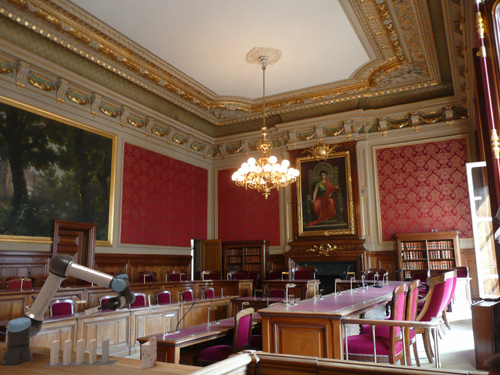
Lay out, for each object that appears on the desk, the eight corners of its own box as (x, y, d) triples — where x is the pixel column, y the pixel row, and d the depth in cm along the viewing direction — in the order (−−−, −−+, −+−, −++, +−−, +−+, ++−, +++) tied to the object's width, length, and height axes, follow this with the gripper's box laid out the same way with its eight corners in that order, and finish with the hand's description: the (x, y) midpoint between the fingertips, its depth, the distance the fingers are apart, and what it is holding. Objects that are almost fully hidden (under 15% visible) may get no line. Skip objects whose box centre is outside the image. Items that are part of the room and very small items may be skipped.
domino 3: (75, 364, 226) (76, 341, 228) (80, 361, 232) (81, 339, 234) (79, 364, 226) (79, 341, 228) (83, 361, 232) (84, 339, 234)
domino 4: (88, 364, 226) (89, 341, 228) (92, 361, 232) (93, 338, 234) (92, 364, 226) (92, 340, 228) (96, 361, 232) (96, 338, 234)
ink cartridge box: (148, 363, 225) (148, 335, 227) (156, 364, 224) (156, 335, 226) (140, 368, 217) (141, 338, 219) (149, 368, 216) (149, 338, 218)
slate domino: (101, 363, 226) (102, 340, 228) (105, 361, 232) (106, 338, 234) (105, 363, 226) (105, 340, 228) (108, 360, 232) (109, 338, 234)
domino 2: (62, 365, 226) (63, 341, 228) (67, 362, 232) (68, 339, 234) (66, 365, 226) (67, 341, 228) (70, 362, 232) (71, 339, 234)
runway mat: (42, 367, 224) (42, 366, 224) (51, 363, 234) (51, 362, 234) (113, 365, 224) (113, 364, 224) (119, 360, 234) (119, 359, 234)
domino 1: (49, 365, 226) (50, 342, 228) (55, 362, 232) (55, 340, 234) (53, 365, 226) (54, 342, 228) (58, 362, 232) (59, 340, 234)
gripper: (129, 305, 253) (103, 314, 231) (106, 312, 259) (78, 321, 237) (126, 293, 254) (99, 301, 232) (103, 300, 260) (75, 308, 238)
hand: (89, 311), depth 235 cm, fingers open, 5 cm apart
